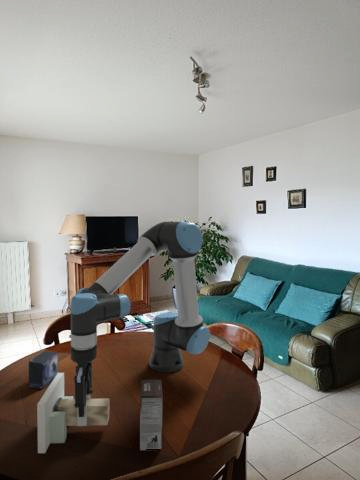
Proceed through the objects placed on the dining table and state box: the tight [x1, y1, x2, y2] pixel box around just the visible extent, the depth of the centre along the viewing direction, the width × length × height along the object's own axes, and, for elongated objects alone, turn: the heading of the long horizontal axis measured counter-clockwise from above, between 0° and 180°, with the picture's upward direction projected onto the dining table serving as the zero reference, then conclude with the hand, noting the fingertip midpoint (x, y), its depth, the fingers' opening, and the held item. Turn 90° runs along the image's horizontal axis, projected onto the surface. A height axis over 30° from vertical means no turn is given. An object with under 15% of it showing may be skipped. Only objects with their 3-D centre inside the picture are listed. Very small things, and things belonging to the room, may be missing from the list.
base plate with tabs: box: [36, 372, 75, 454], centre depth 96 cm, size 6×18×14 cm, turn 4°
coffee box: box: [139, 379, 163, 451], centre depth 93 cm, size 9×6×16 cm
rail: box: [54, 397, 111, 427], centre depth 96 cm, size 16×4×6 cm, turn 94°
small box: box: [28, 350, 59, 390], centre depth 125 cm, size 11×6×10 cm, turn 168°
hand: (84, 419), depth 97 cm, fingers closed on rail, 4 cm apart
